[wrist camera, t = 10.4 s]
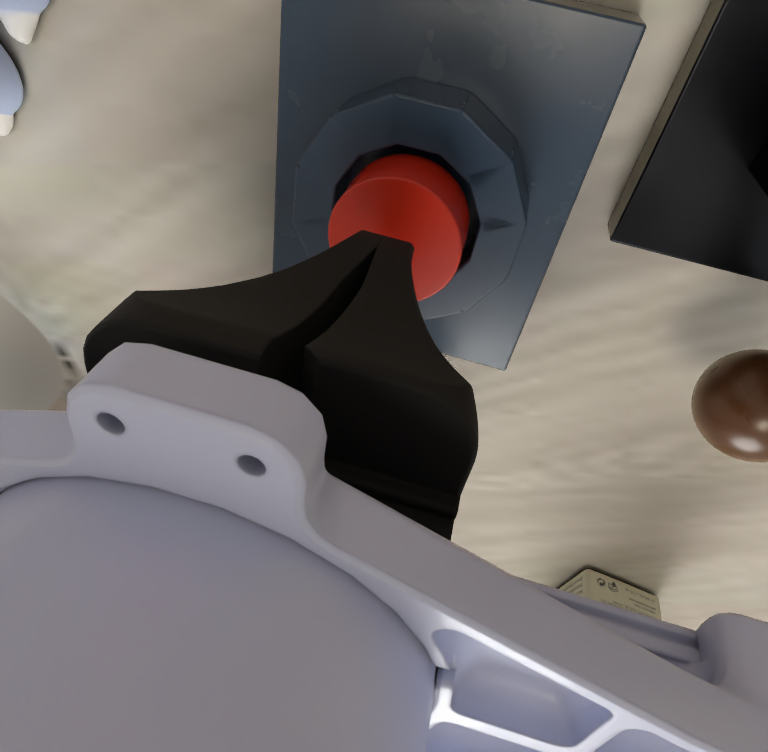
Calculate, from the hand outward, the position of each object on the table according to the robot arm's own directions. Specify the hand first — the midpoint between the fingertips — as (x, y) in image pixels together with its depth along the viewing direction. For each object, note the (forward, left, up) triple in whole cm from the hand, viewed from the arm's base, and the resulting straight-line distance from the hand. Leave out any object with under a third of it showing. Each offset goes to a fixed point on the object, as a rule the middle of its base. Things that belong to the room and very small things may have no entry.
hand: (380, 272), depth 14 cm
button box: (0, 0, -6) cm, 6 cm away
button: (0, 0, -3) cm, 3 cm away
